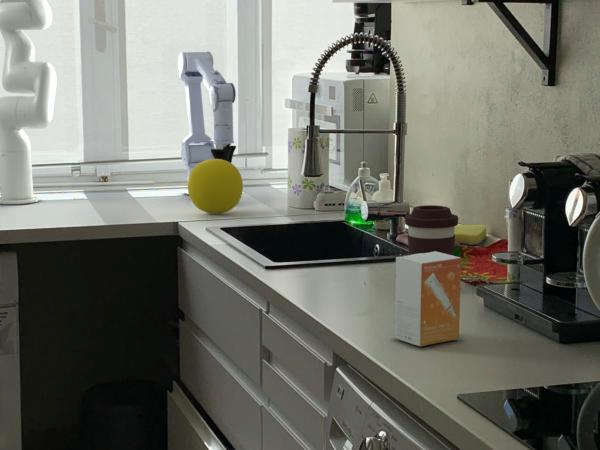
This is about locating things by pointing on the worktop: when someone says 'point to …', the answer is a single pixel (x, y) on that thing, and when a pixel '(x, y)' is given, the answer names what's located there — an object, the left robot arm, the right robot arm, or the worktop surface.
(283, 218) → the worktop surface
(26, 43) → the left robot arm
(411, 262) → the small box
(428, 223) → the coffee cup
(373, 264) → the worktop surface
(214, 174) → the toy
